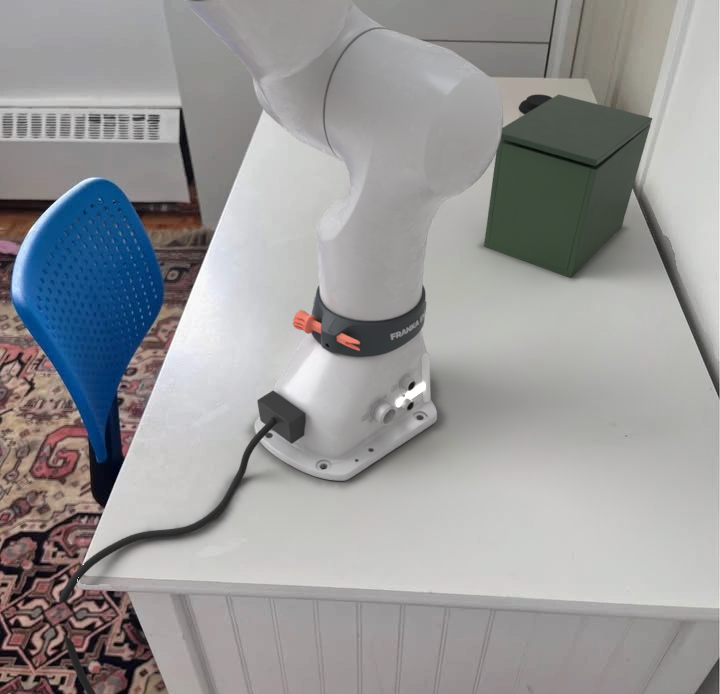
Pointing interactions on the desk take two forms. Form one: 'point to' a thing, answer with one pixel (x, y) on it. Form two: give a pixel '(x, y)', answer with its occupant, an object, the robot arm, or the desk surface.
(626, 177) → the bin
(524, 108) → the black capped white jar
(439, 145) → the robot arm
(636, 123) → the bin lid
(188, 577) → the desk surface
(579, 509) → the desk surface
